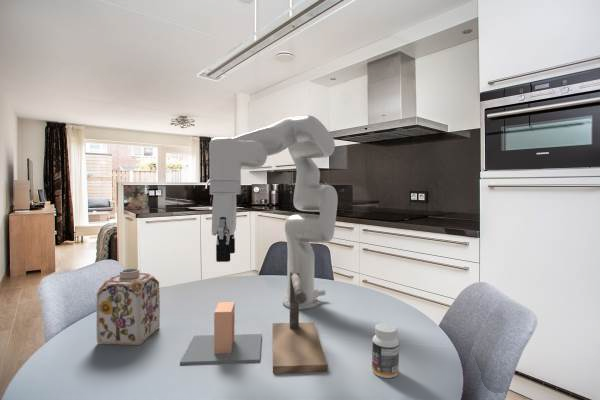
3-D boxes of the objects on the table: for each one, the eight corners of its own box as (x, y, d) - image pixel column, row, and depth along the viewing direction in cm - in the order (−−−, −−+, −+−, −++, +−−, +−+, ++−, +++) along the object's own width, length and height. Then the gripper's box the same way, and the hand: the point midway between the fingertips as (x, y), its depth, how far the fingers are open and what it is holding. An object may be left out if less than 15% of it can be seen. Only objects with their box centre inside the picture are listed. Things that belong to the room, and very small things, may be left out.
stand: (313, 327, 98) (314, 268, 97) (327, 371, 74) (328, 293, 73) (272, 328, 97) (273, 268, 96) (272, 373, 73) (273, 294, 72)
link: (218, 340, 87) (219, 302, 87) (234, 339, 88) (234, 302, 87) (214, 353, 80) (214, 312, 80) (231, 353, 80) (231, 311, 80)
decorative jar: (121, 326, 97) (121, 264, 97) (160, 327, 97) (160, 265, 96) (94, 345, 85) (94, 275, 85) (139, 346, 85) (139, 275, 84)
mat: (261, 336, 92) (261, 333, 92) (259, 362, 78) (259, 359, 78) (194, 337, 90) (194, 335, 90) (179, 364, 76) (179, 362, 76)
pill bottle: (368, 365, 76) (369, 322, 76) (393, 365, 77) (393, 322, 77) (376, 379, 71) (377, 333, 70) (402, 378, 71) (403, 332, 71)
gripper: (215, 188, 91) (216, 250, 92) (202, 189, 74) (203, 265, 75) (243, 188, 92) (244, 250, 93) (237, 188, 75) (237, 265, 75)
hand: (226, 257), depth 84 cm, fingers open, 9 cm apart
